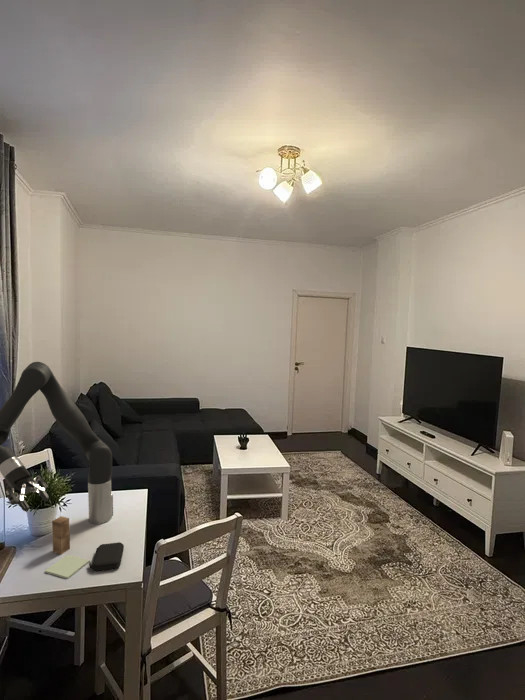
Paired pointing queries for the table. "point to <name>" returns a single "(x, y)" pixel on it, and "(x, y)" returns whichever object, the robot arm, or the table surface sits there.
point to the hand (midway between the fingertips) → (37, 504)
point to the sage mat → (67, 566)
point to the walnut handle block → (61, 535)
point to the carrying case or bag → (107, 557)
